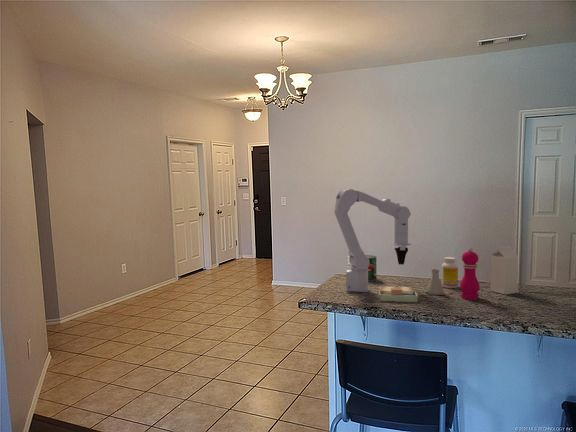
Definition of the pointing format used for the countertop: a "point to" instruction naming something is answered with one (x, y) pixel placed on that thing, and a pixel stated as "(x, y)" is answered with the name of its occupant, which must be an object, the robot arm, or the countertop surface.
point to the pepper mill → (469, 276)
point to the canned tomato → (372, 267)
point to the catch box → (399, 298)
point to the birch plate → (387, 290)
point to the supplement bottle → (449, 273)
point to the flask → (435, 284)
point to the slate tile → (407, 292)
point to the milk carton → (504, 271)
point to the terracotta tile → (396, 291)
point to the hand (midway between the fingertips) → (401, 264)
